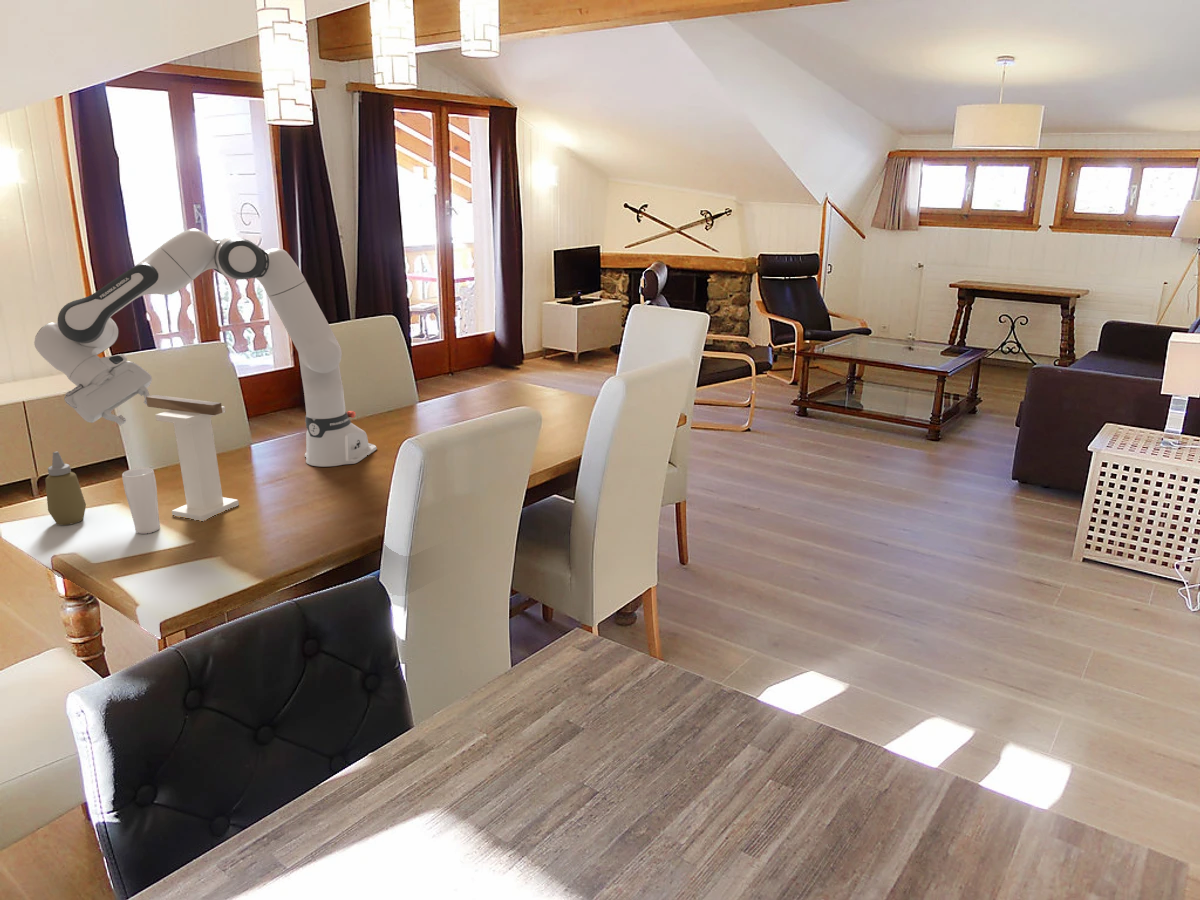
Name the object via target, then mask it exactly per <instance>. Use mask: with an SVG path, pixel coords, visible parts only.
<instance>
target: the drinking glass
mask: <svg viewBox="0 0 1200 900" xmlns="http://www.w3.org/2000/svg"><path fill="white" fill-rule="evenodd" d="M121 477H122V483H123V489H124V493H125V497H126V501H127V504H128V507H129V510H130V514H131V517H132V520H133V524H134V531H135V532H136V533H137V534H139V535H141V534H142V535H146V534H147V533H148V534H152V532H153V533H155V532H157V531H159V530H160V528H161V524H160V523H161V522H160V516H159V515H160V514H159V503H158V501H159V500H158V489H157V481H156V480H157V479H156V476H155V472H154V469H153V468H151V467H137V468H136V467H135V468H132V469H128V470H125V471H124V472H122V474H121ZM148 534H147V535H148Z"/></svg>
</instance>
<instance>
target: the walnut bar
mask: <svg viewBox="0 0 1200 900" xmlns="http://www.w3.org/2000/svg"><path fill="white" fill-rule="evenodd" d="M146 400H147V404H146V406H147V407H149V408H153V409H154V408H155V409H164V410H168V411H169V410H177V411H185V412H192V413H200V414H208V415H216V416H218V415H217V414H219V415H221V414H220V413H222V414H224V413H223V412H222V406H223V405H222V402H217V401H209V400H200V399H191V398H185V397H176V396H169V395H160V394H159V395H158V394H152V395H150V396H148V397H146Z"/></svg>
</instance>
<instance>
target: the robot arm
mask: <svg viewBox="0 0 1200 900" xmlns="http://www.w3.org/2000/svg"><path fill="white" fill-rule="evenodd" d="M207 270H214V271H215V272H218V273H219V274H221V276H224V277H227V278H228V279H232V280H238V281H239V280H250V279H257V280H258V281H259V283H260V284H261V285H262V287H263V288H264V291H265V293H266V295H267V297H268V299H269V300H270V302H271V304H272V306H273V308H274V309H275V312H276V313H277V315H278V317H279V319H280V320H281V323H282V325H283V326H284V329H285V330H286V332H287V334H288V336H289V337H290V339H291V341H292V343H293V345H294V347H295V349H296V351H297V353H298V359H299V366H300V367H299V368H300V375H301V379H302V381H301V382H302V387H303V393H304V394H303V395H304V403H305V412H306V415H305V421H304V423H305V427H306V429H307V430H306V433H305V436H306V437H305V439H306V441H305V442H306V444H305V445H306V448H305V450H306V452H305V453H304V458H305V457H306V458H305V463H306V464H307V465H309V466H314V467H320V468H321V467H337V466H342V465H354V464H357V463H359V462H360V461H362V460H363V459H365V458H367V457H368V456H369V455H371V454H372V453H374V452H375V451H376V450H377V449H378V448H377V446H376V445H375V444H373V443H369V440H368V439H369V438H368V435H367V433H366V431H365V430H363V429H361V428H360V427H358V426H357V425H355V424H354V423H352V421H351V419H354V418H355V417H356V415H357V414H356V411H354V410H348V411H346V403H345V395H344V385H343V381H342V373H341V368H340V363H341V360H342V357H343V353H342V352H343V351H342V347H341V345H340V343H339V341H338V338H337V337H336V335H335V333H334V331H333V329H332V328H331V326H330V324H329V322H328V320H327V319H326V316H325V314H324V313H323V311H322V309H321V308H320V306H319V304H318V302H317V300H316V298H315V296H314V294H313V292H312V290H311V287H310V285H309V284H308V282H307V280H306V278H305V276H304V275H303V273H302V271H301V269H300V268H299V267H298V265H297V263H296V262H295V261H294V259H293V258H292V256H291V255H290V254H289V253H288V251H286V250H285V249H283V248H280V247H279V248H278V247H275V248H274V247H273V248H269V249H266V250H264V249H262V248H260V247H259V246H258V245H257V244H255V243H253V242H252V241H251V240H249V239H246V238H242V237H236V236H235V237H234V236H232V237H227V238H222V239H215V240H214V239H212V238H211V237H210V235H209V234H207V233H206V232H204V231H203V230H200V229H198V228H189V229H186V230H185V231H183V232H180V233H178V234H177V235H175V236H174V237H172V238H169V240H167V241H166V242H165V243H163V244H162V245H161V246H160V247H158V248H156V249H155V250H154V251H153V252H152V253H150V254H149V255H148V256H147V257H145V258H144V259H143V260H141V261H140V262H138V263H137V264H135V265H134V266H133V267H131V268H129V269H128V270H127V271H125V272H123V273H122V274H120V275H119V276H118V277H116V278H115V279H113V280H111V281H110V282H108V283H107V284H105V285H104V286H103V287H101V288H99V289H98V290H97V291H95V292H94V293H92V294H90V295H89V296H86V297H83V298H79V299H76V300H73V301H70V302H68V303H66V304H65V305H63V306H62V308H61V309H60V310H59V312H58V315H57V322H48V323H47V324H44V325H43V326H42V327H41V328H40V329H39V330H38V332H37V333H36V335H35V337H34V342H33V343H34V344H33V345H34V347H35V349H36V351H37V353H39V355H40V356H41V357H42V358H43V359H44V360H45V361H46V362H47V363H49V365H50V366H52V367H53V368H54V369H56V371H57V370H58V372H62V373H63V374H64V375H65V376H66V377H67V379H68V380H69V381H70V382H71V383H73V384H74V385H75V387H74V388H73V389H71V390H68V391H67V392H66V393H65V394H64V398H63V400H64V402H65V403H66V405H68V406H69V407H71V408H73V410H74V411H75V412H76V413H77V414H78V415H79V416H80V417H81V418H82V419H83V420H84V421H85V422H87V423H93V424H94V423H95V422H97V421H98V420H99V419H101V418H103V419H105V421H110V422H115V423H116V424H118V426H123V424H125V423H126V421H127V419H126V418H125V417H124V416H123V415H122V414H120V415H115V414H114V413H113V414H112V411H113V410H115V409H117V408H118V407H120V406H121V405H122V404H125V403H126V402H128V401H129V400H131V399H132V398H134V397H135V396H136V395H140V396H142V397H144V400H143V403H144V404H145V405H147V400H146V397H148V396H151V395H150V393H149V389H148V388H149V387H150V386H151V384H152V381H153V378H152V375H151V374H150V373H149V372H148V371H147V370H145V369H144V368H143V367H142V366H140V365H139V364H137V363H136V362H134V361H129V360H128V357H127V356H126V355H125V354H122V353H120V354H119V353H118V354H115V355H111V356H102V357H100V356H98V355H100V354H102V353H104V351H106V350H107V349H109V348H110V347H112V346H113V345H115V343H116V342H117V340H118V338H119V332H120V331H119V327H118V325H117V322H116V321H115V320H114V319H113V318H112V317H113V316H114V315H115V314H116V313H118V312H119V311H121V310H123V308H125V307H126V306H128V305H129V304H131V303H132V302H134V301H135V300H136V299H138V298H140V297H142V296H146V295H147V296H148V295H163V296H165V295H172V294H175V293H176V292H178V291H180V290H182V289H184V288H186V287H187V286H188V285H189V284H190V283H191V282H193V281H194V280H195V279H196V278H197V277H198V276H199V275H201V274H202V273H205V272H206V271H207ZM350 418H351V419H350ZM367 455H368V456H367Z"/></svg>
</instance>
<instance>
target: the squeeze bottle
mask: <svg viewBox="0 0 1200 900" xmlns="http://www.w3.org/2000/svg"><path fill="white" fill-rule="evenodd" d="M47 472H48V475H47V477H45V479H44V480H45V492H46V493H45V494H46V500H47V503H46V504H47V510H48V512H49V515H50V516H51V518H52V519H53V521H54V522H55V524H56V525H59V526H68V525H74V524H76V523H79V522H82V521H83V520H84V518H85V512H86V507H87V503H86V501H85V497H84V495H83V494H84V493H83V490H82V489H81V485H80V482H79V479H78V476H77V474H76V473H75V472H73V471H72V470H71V466H70V464H68V463H65V462H64V461H63V458H62V455H60V452H59V451H54V452H52V465H50V466H49V467H47Z"/></svg>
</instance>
